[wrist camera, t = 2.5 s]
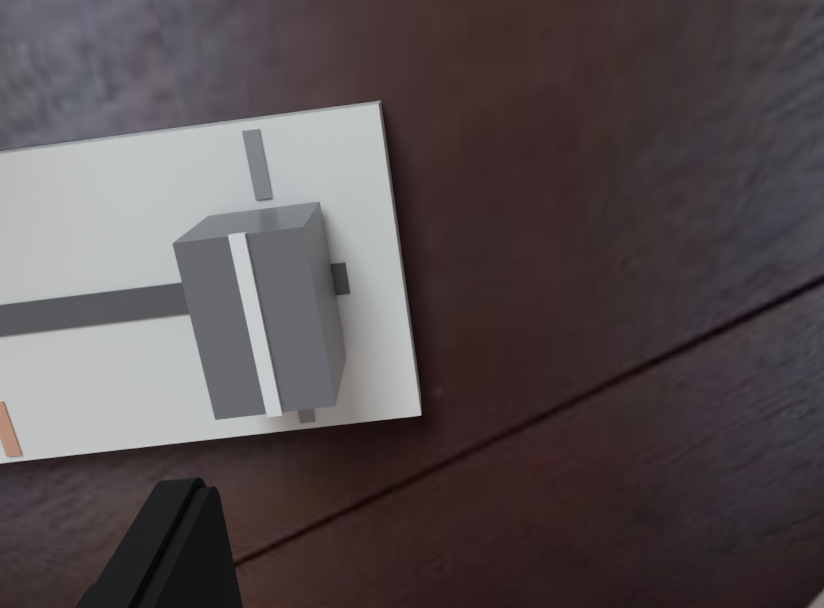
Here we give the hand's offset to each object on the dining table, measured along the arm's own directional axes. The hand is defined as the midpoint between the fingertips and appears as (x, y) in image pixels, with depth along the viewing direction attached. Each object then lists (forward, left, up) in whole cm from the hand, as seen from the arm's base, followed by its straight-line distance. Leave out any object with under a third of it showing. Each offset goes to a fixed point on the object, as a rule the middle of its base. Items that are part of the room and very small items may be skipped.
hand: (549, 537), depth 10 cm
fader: (+7, +1, -17) cm, 18 cm away
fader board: (+14, +1, -19) cm, 23 cm away
